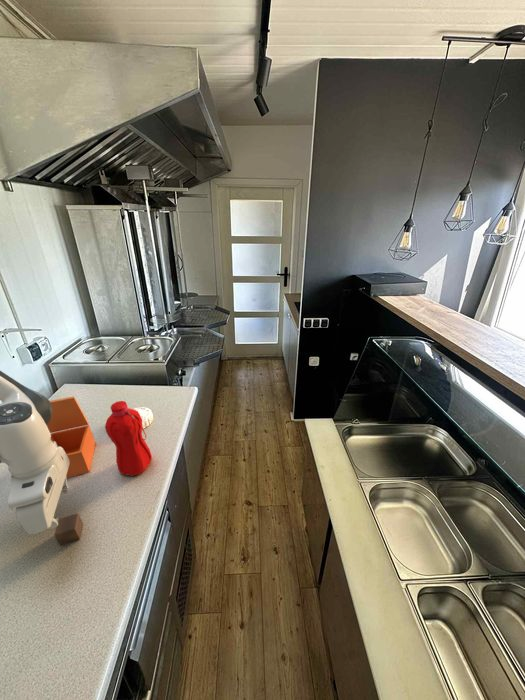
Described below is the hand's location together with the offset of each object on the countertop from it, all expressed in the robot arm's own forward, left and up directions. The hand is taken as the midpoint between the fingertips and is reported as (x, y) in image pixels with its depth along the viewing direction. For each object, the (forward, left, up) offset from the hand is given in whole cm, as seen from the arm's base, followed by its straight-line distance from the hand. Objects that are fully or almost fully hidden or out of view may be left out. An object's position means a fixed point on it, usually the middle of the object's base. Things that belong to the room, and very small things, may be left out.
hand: (59, 507), depth 71 cm
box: (-5, +28, -11) cm, 30 cm away
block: (0, 0, -11) cm, 11 cm away
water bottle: (+16, +18, -11) cm, 26 cm away
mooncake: (+15, +42, -11) cm, 46 cm away
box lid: (-5, +32, +5) cm, 33 cm away
